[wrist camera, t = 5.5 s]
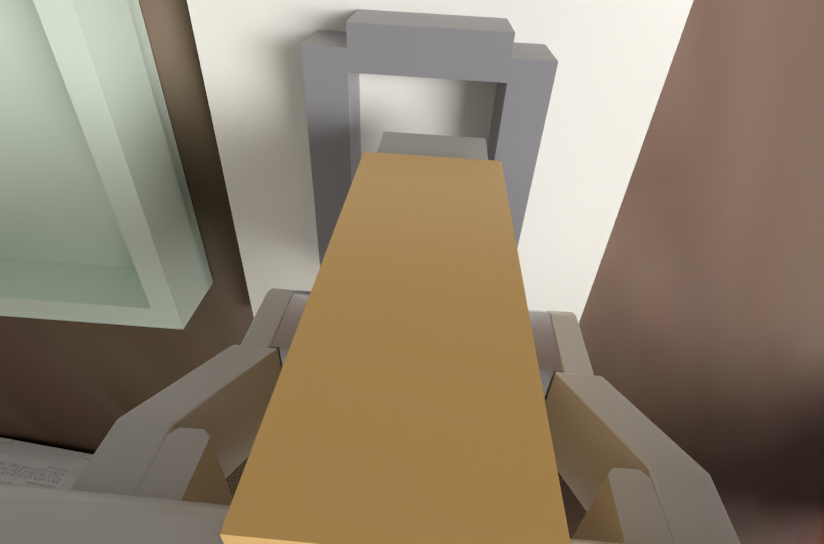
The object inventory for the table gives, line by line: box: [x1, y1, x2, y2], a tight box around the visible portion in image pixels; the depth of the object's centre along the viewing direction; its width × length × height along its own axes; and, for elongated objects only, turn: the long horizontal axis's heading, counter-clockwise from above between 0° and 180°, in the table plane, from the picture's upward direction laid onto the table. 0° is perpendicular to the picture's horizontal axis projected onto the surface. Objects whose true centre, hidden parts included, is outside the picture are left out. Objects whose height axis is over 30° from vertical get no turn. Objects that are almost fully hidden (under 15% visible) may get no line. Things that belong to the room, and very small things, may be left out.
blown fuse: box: [220, 132, 571, 544], centre depth 9 cm, size 3×5×10 cm, turn 178°
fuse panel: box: [187, 0, 693, 324], centre depth 16 cm, size 14×16×3 cm
